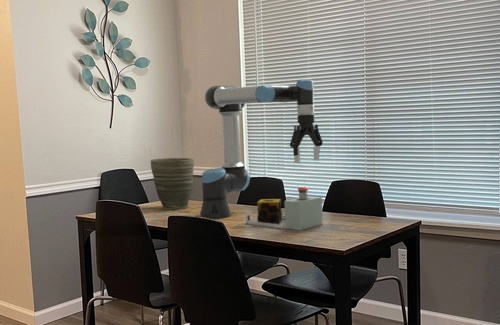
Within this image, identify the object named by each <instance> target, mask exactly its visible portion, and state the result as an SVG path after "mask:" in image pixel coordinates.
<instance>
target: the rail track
mask: <svg viewBox="0 0 500 325" xmlns="http://www.w3.org/2000/svg"><path fill="white" fill-rule="evenodd" d="M282 220H285V214H282ZM245 222H246V223H245V224H247V225H254V226H259V227H260V226H262V227H266V228H273V229H281V230H284V229H286V228H285V224H280V223H278V224H276V223H266V222H259V221H258V220H252V219H251V216H250V214H245Z"/></svg>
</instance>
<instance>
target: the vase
mask: <svg viewBox="0 0 500 325" xmlns="http://www.w3.org/2000/svg"><path fill="white" fill-rule="evenodd" d="M194 164H195V158H193V157H191V158H190V157H188V158H186V157H165V158H154V159H151V160H150V168H151V173H152V176H153V183H154V187H155V190H156V193H157V197H158V199H159V200H160V203H161V205H162V207H161V209H162V210H166V211H167V210H173V211H175V210H182V209H188V208H189V201H190V198H191V194H192V190H193V184H194Z"/></svg>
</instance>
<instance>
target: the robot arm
mask: <svg viewBox="0 0 500 325" xmlns="http://www.w3.org/2000/svg"><path fill="white" fill-rule="evenodd" d="M314 92H315V91H314V80H312V79H297V80H296V84H292V85H274V84H273V85H271V84H262V85H257V86H255V85H254V86H242V87H240V86H236V85H235V86H234V85H214V86H211V87H209V88H208V89H207V90H206V92H205V94H204V101H205V103H206V104H207V106H209V108H211V109H214V110H218V113H219V114H220V115H221V117H222V133H223V135H222V136H223V154H224V162H223V164H222V165H221V167H218V168H217V167H216V168H210V169H207V170H204V171H203V172H202V176H201V177H202V178H201V183H202V185H201V186H202V187H201V188H202V204H201V210H200V212H199V214H200V215H199V217H200V218H201V217H206V218H205V219H209V218H211V219H224V218H228V217H231V215H232V214H231V213H232V212H231V209H230V206H229V204H228V200H227V194H230V193H239V192H241V191H245V190H246V189H247V187H248V186H249V185H250V180H251V179H250V178H251V176H250V173H249V172H248V170H247V169H246V168H245V164H244V163H243V162H242V147H241V146H242V144H241V128H240V127H241V126H240V115H241V114H242V112H243V108H244V107H245V105H246V104H258V103H259V104H260V103H282V104H283V103H294V102H295V103H296V107H297V108H296V112H297V114H298V115H297V124H299V125H294V126H293V132H292V135H291V140H290V143H289V147H290V148H292V149H293V156H294V157H293V158H294V161H293V162H294V163H295V164H296V163H297V164H300V163H301V151H300V150H301V148H300V145H301V143H302V141H303V140H304V139H303V138H304V137H305V136H308V137H309V138H310V140H311V141H312V143H313V144H314V146H313V161H320V151H321V148H320V147H322V145H323V143H324V142H323V139H322V136H321V134H320V131H319V125H318V124H314V123H315V101H314V100H315V97H314V96H315V95H314V94H315V93H314Z"/></svg>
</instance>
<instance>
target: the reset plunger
mask: <svg viewBox="0 0 500 325" xmlns="http://www.w3.org/2000/svg"><path fill="white" fill-rule="evenodd" d="M297 191H298V198H299V200H307V196H308V191H309V187H307V186H300V187H298V188H297Z"/></svg>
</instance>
